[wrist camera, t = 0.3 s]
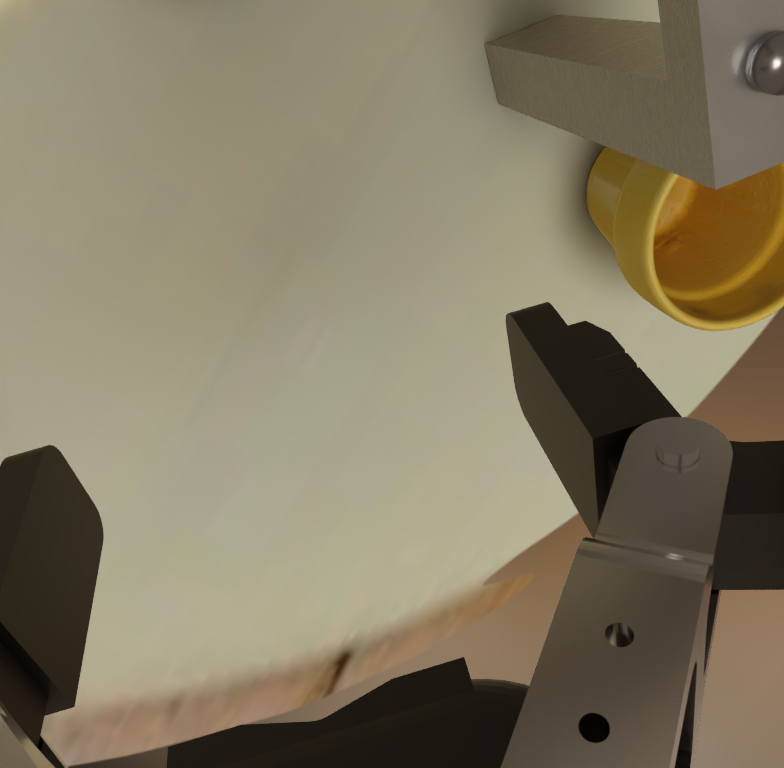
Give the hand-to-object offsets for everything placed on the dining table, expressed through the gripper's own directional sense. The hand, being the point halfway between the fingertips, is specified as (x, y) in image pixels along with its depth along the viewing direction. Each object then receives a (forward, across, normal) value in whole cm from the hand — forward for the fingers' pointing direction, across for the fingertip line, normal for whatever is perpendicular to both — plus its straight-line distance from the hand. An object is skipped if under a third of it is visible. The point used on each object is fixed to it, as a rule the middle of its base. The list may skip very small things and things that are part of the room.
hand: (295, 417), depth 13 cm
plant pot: (+28, -20, +11) cm, 36 cm away
